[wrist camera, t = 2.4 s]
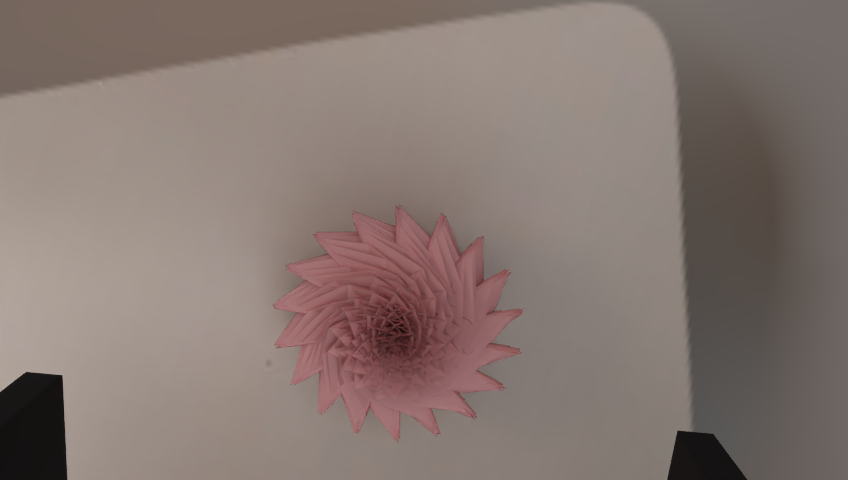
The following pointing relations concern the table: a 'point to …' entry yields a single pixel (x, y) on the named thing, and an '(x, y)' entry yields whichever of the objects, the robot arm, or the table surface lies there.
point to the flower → (396, 321)
